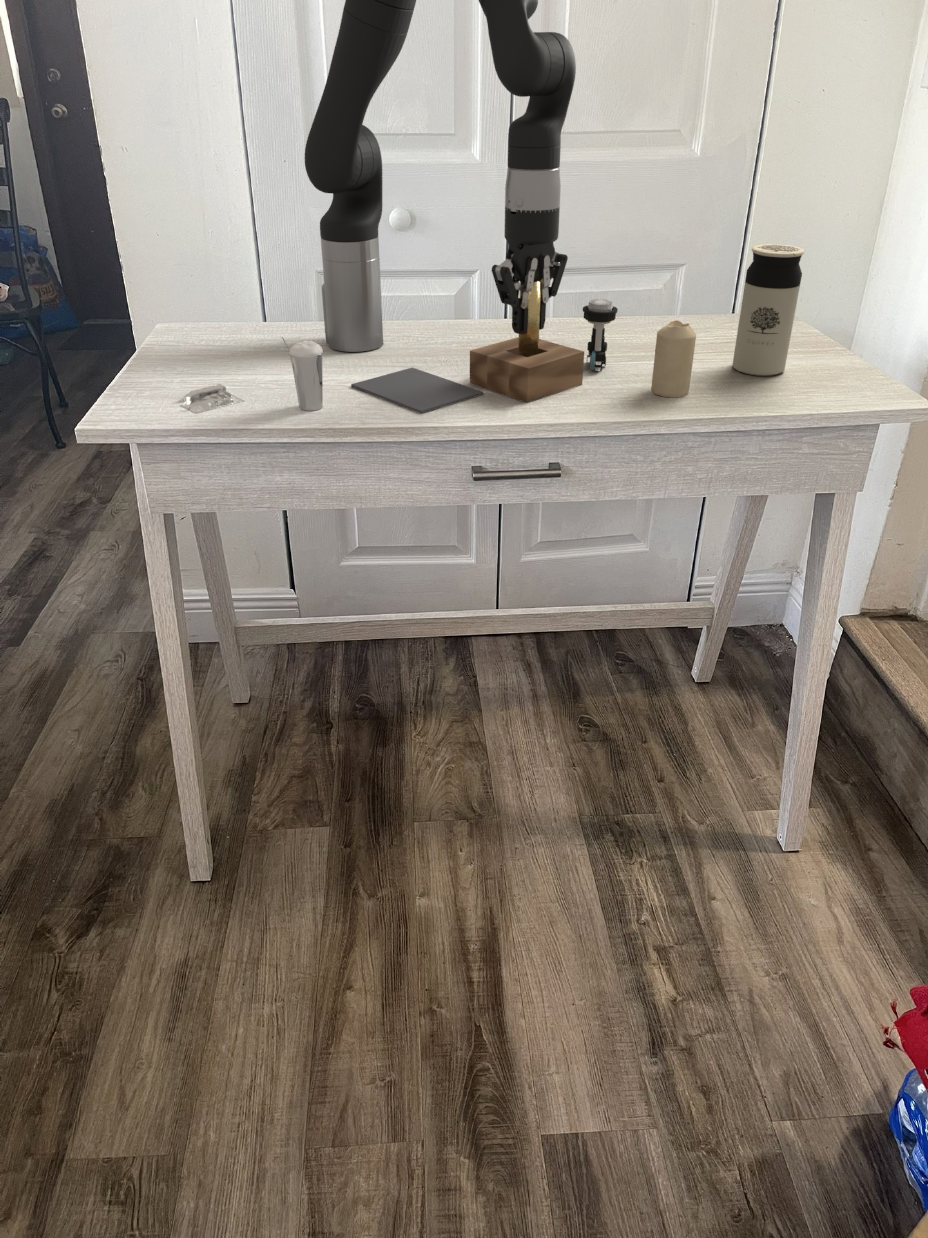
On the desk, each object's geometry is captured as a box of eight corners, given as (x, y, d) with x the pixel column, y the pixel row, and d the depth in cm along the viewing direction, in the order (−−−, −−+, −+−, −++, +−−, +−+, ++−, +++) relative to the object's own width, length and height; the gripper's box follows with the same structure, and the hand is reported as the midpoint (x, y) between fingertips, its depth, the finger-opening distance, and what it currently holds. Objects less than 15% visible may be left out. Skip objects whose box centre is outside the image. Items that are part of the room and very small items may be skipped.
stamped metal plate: (221, 393, 141) (220, 383, 140) (246, 405, 136) (244, 395, 136) (172, 404, 136) (171, 394, 135) (196, 417, 132) (194, 407, 131)
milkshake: (290, 402, 135) (283, 332, 130) (327, 401, 136) (322, 331, 130) (287, 413, 132) (280, 341, 126) (326, 412, 132) (320, 340, 127)
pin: (514, 350, 140) (515, 280, 134) (527, 346, 142) (530, 276, 136) (528, 354, 138) (531, 283, 133) (542, 350, 140) (545, 280, 134)
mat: (351, 386, 141) (351, 384, 141) (412, 369, 148) (412, 367, 148) (421, 413, 131) (421, 410, 131) (483, 394, 138) (483, 391, 138)
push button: (614, 374, 146) (619, 308, 141) (579, 373, 147) (584, 308, 141) (611, 361, 152) (617, 297, 147) (578, 360, 152) (582, 297, 147)
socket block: (469, 383, 143) (469, 350, 140) (524, 366, 150) (525, 335, 147) (527, 402, 135) (528, 368, 133) (582, 384, 142) (584, 351, 140)
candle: (648, 385, 142) (655, 317, 137) (685, 385, 142) (694, 318, 136) (653, 397, 137) (661, 328, 132) (691, 397, 137) (700, 328, 132)
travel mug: (743, 358, 153) (761, 241, 144) (791, 367, 149) (813, 247, 140) (724, 370, 148) (742, 249, 138) (773, 380, 144) (795, 256, 134)
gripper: (546, 195, 136) (542, 317, 145) (476, 206, 127) (476, 335, 137) (586, 200, 131) (579, 326, 140) (516, 212, 123) (513, 345, 132)
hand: (528, 330), depth 138 cm, fingers closed on pin, 3 cm apart
